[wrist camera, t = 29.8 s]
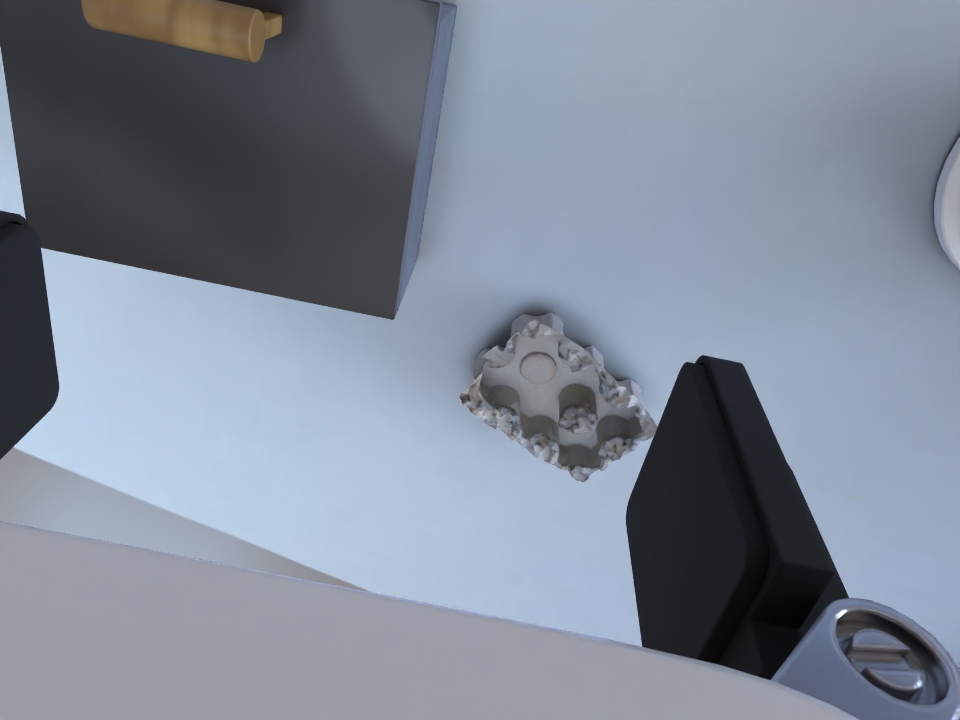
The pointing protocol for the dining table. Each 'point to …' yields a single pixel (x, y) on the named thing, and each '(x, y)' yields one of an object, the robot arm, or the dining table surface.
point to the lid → (226, 137)
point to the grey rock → (557, 398)
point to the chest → (428, 140)
